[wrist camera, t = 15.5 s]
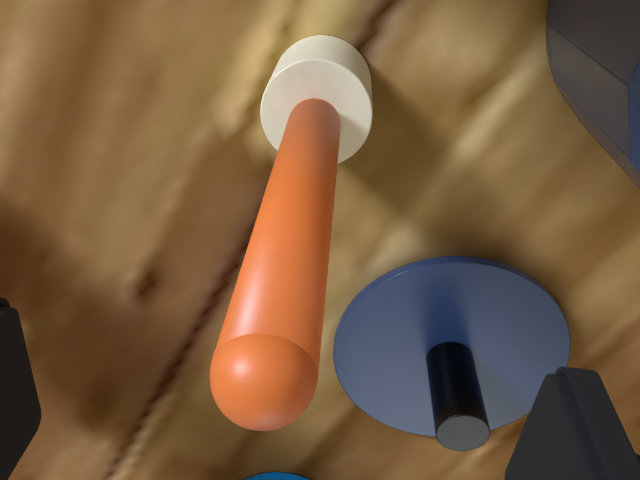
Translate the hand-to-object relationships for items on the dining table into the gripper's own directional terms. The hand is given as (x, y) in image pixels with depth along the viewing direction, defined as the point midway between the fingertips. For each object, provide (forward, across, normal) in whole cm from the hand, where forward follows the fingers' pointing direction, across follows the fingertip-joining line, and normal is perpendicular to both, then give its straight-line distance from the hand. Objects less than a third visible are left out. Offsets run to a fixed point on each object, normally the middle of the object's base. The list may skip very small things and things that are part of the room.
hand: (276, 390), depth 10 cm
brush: (+18, 0, 0) cm, 18 cm away
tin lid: (+18, -8, +14) cm, 24 cm away
